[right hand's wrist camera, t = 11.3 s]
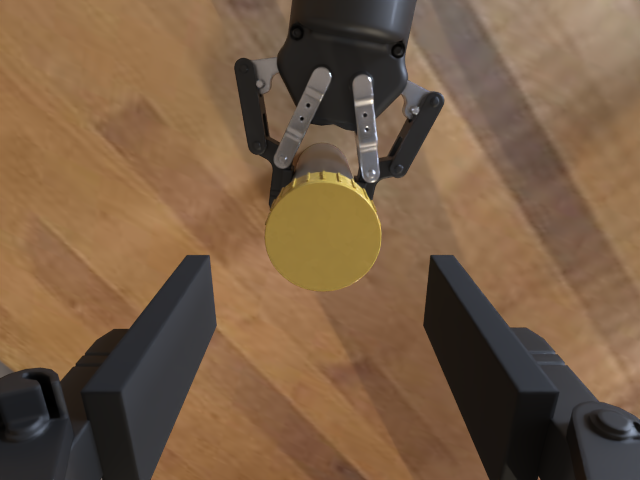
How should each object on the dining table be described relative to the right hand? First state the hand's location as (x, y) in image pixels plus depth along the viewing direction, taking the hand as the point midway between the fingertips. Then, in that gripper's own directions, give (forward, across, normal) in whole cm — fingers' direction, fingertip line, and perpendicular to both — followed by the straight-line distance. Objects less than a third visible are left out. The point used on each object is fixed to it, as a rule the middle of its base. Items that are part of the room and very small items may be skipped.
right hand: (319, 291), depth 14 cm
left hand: (+16, 0, -3) cm, 17 cm away
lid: (+6, 0, 0) cm, 6 cm away
